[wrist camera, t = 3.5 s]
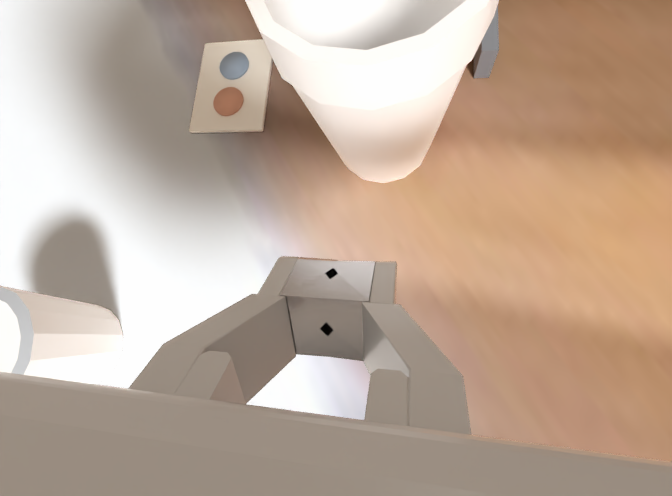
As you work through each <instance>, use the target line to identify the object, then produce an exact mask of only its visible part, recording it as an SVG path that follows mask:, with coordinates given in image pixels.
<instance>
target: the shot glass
mask: <svg viewBox="0 0 672 496" xmlns="http://www.w3.org/2000/svg"><path fill="white" fill-rule="evenodd" d="M122 343H123V332H122V329H121V325H120V322H119V320H118V319H117V317H116V316H115V315H114V314H113V313H112V311H111V310H109V309H106V308H104V307H102V306H99V305H95V304H90V303H85V302H79V301H74V300H69V299H64V298H59V297H54V296H49V295H44V294H39V293H34V292H29V291H24V290H19V289H14V288H9V287H4V286H0V372H7V373H14V374H22V375H29V376H37V377H44V378H52V379H59V380H67V381H74V382H82V383H89V384H95V383H97V382H99V381H101V380H103V379H104V378H105V377H106V376H107V375H108V374H109V373H110V372H111V371H112V369H113V368H114V367H115V366H116V363H117V361H118V359H119V356H120V354H121V352H122Z"/></svg>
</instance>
